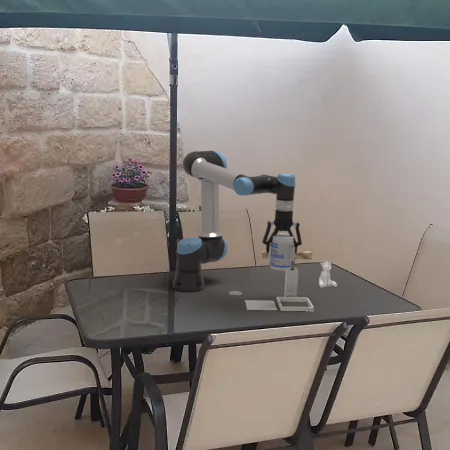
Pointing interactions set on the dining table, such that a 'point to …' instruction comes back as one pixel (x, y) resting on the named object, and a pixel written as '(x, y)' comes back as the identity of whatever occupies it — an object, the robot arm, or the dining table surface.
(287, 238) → the supplement tub
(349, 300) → the dining table surface
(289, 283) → the post
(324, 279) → the white creature statuette
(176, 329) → the dining table surface
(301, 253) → the T-handle
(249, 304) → the rubber mat
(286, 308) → the holder tray
